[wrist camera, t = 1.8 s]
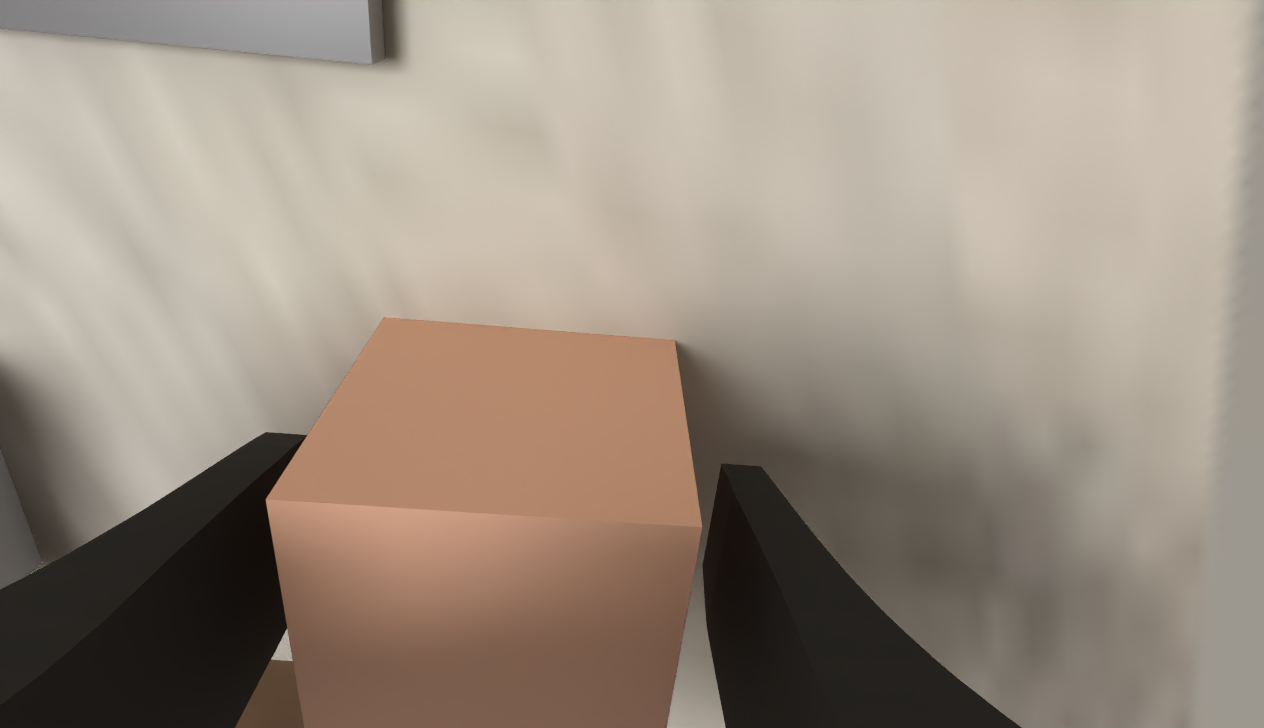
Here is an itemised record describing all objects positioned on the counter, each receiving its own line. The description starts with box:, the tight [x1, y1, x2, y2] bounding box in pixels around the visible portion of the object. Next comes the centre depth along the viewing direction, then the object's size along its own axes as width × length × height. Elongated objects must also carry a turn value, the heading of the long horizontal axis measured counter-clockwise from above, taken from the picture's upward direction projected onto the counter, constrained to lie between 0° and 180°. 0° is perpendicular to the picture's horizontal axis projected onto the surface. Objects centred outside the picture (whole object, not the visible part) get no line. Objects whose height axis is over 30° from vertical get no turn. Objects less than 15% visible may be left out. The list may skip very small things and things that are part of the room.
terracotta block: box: [266, 317, 702, 728], centre depth 11 cm, size 4×4×4 cm
